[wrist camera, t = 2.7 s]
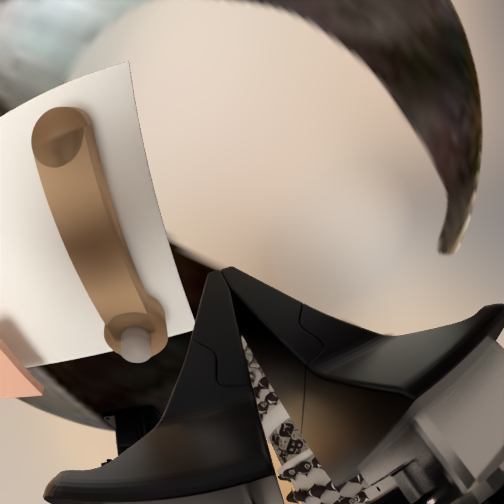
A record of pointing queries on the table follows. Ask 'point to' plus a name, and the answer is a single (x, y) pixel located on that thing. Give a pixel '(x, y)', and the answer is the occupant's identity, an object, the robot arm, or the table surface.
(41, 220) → the board
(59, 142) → the link
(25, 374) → the plate
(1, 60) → the table surface
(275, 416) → the decorative candle
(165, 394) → the table surface
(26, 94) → the table surface
